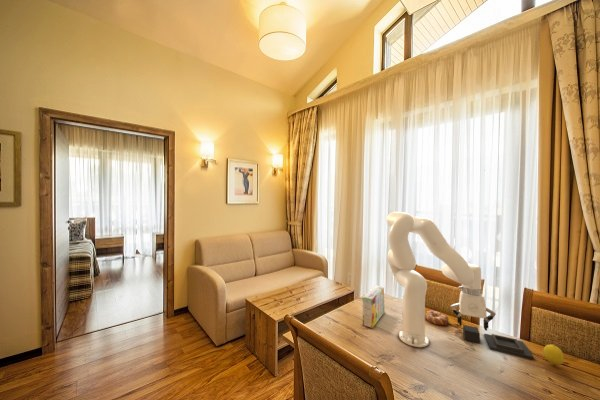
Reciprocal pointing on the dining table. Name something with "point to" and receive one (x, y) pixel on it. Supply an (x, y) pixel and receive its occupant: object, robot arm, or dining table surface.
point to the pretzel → (436, 318)
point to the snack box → (373, 306)
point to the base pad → (508, 345)
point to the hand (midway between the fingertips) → (472, 326)
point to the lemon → (553, 354)
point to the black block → (471, 333)
